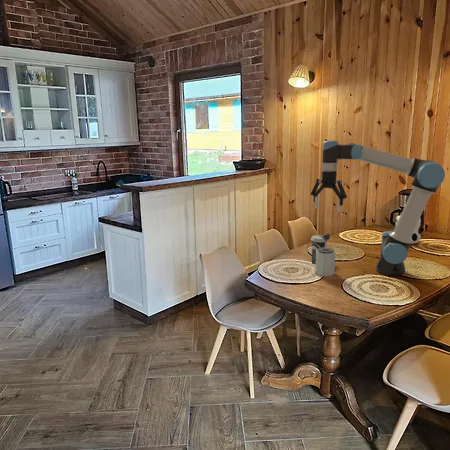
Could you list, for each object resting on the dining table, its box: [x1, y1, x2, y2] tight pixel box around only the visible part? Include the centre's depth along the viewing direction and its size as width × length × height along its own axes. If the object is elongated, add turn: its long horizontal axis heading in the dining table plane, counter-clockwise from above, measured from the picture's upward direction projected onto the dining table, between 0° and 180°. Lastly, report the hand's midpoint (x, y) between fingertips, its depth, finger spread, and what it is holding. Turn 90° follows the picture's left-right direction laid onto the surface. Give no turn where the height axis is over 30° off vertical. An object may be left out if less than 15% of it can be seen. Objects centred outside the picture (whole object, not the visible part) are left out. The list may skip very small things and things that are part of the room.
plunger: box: [322, 233, 331, 254], centre depth 215 cm, size 7×7×18 cm
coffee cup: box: [310, 234, 325, 262], centre depth 238 cm, size 10×10×15 cm
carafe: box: [311, 247, 336, 277], centre depth 218 cm, size 13×10×14 cm
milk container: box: [395, 214, 422, 245], centre depth 268 cm, size 17×17×18 cm
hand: (327, 209), depth 209 cm, fingers open, 13 cm apart
